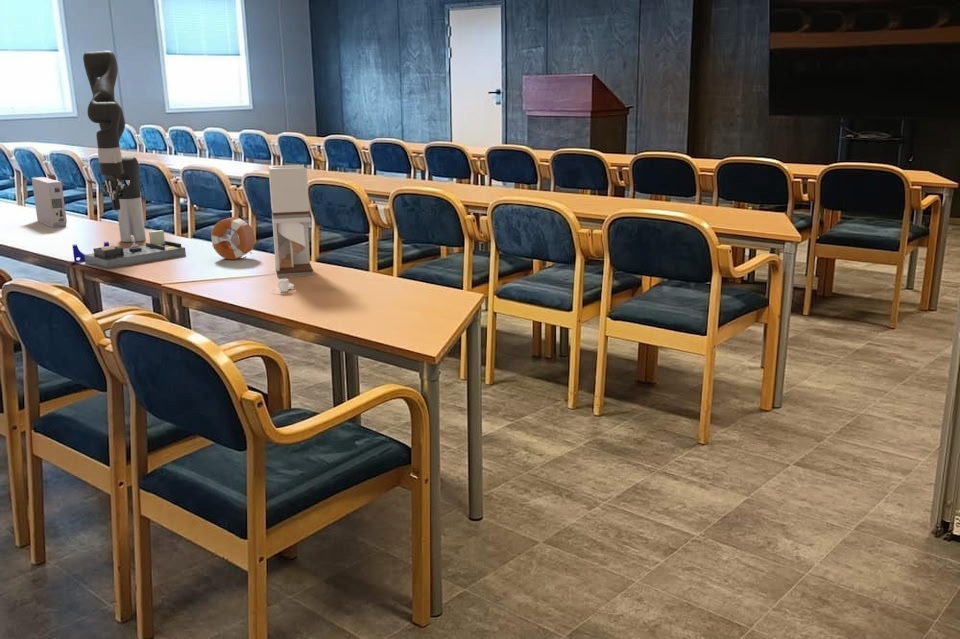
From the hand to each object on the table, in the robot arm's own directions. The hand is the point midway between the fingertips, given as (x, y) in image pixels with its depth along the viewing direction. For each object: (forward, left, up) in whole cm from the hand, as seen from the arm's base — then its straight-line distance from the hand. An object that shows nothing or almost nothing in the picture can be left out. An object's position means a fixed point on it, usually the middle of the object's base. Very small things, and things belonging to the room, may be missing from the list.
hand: (116, 209), depth 316 cm
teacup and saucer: (+88, +9, -19) cm, 90 cm away
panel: (+4, +4, -18) cm, 19 cm away
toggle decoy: (+4, +3, -13) cm, 14 cm away
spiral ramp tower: (+68, +24, -18) cm, 74 cm away
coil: (+31, +26, -18) cm, 44 cm away
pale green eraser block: (0, +14, -15) cm, 21 cm away
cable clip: (-9, -7, -18) cm, 21 cm away
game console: (-103, +21, -18) cm, 107 cm away
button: (+4, -6, -15) cm, 16 cm away
